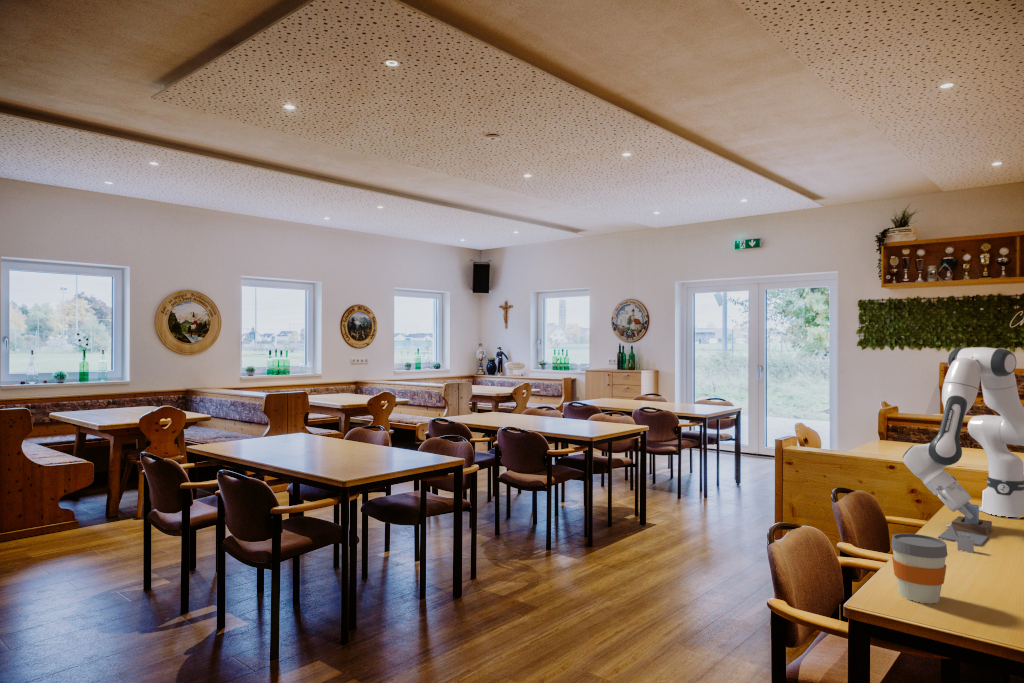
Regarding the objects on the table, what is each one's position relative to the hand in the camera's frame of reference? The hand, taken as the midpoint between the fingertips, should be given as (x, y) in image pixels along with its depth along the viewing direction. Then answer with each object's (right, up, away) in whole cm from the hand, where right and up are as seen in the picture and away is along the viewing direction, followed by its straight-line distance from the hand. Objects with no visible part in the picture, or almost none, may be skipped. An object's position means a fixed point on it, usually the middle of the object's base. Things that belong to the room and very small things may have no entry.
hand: (973, 516), depth 230 cm
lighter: (-21, -5, -23) cm, 31 cm away
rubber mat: (-11, -5, -10) cm, 15 cm away
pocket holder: (-1, -5, 0) cm, 5 cm away
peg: (-1, -5, 0) cm, 5 cm away
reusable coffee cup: (-60, -4, -63) cm, 87 cm away
